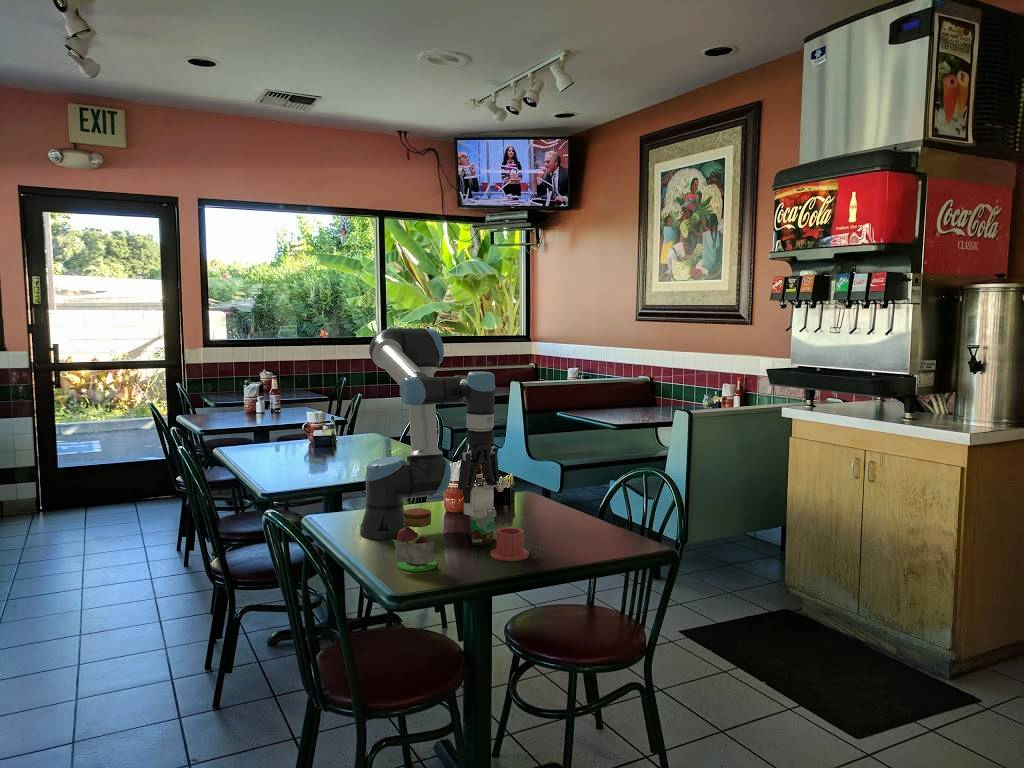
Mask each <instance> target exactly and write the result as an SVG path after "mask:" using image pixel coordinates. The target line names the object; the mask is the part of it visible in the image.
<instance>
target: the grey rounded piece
mask: <svg viewBox="0 0 1024 768" xmlns="http://www.w3.org/2000/svg"><path fill="white" fill-rule="evenodd" d="M494 490H495V489H494ZM494 490H493V489H490V488H485V487H484V486H473V487H472V491H474V514H473V515H472V516H471V515H469V516H470V517H474V518H484V517H486V516H487V510H489V509H492V508H493V507H494V494H495V493H494V492H495V491H494Z"/></svg>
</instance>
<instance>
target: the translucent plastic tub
mask: <svg viewBox="0 0 1024 768" xmlns="http://www.w3.org/2000/svg"><path fill="white" fill-rule="evenodd" d="M431 524H432V511H431V510H430V509H427V508H420V507H418V508H416V507H415V508H414V507H413V508H408V509H406V510H404V525H405V526H409V528H408V527H407V528H402V529H400V530H399V532H398V537H397V538H396V539H391V541H393V543H394V548H395V555H394V556H395V558H394V559H395V561H397V567H398V569H400V570H403V571H407V572H425V571H430V570H432V569H434V568H436V567H437V566H438V564H437V561H436V560H435V557H434V556H435V555H434V550H435V542H434V541H430V540H429V538H428V537H427V536H425V535H420V536H419V533H417V532H416V531H415V530H414V529H412V528H425V527H427V526H430V525H431ZM412 541H414V542H413V543H411V542H412Z"/></svg>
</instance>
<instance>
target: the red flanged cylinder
mask: <svg viewBox="0 0 1024 768" xmlns="http://www.w3.org/2000/svg"><path fill="white" fill-rule="evenodd" d="M524 533H525V532H524V530H523V529H522V528H517V527H502V528H498V529H496V538H495V539H496V543H495V544H496V546H495V547H496V548H493V549H492V550H491V551H490V557H491V558H492V559H494V560H497V561H502V562H518V561H519V562H520V561H524V560H526V559H529V557H530V551H529V550H527V549H525V548H524V540H525V539H524V535H525V534H524Z"/></svg>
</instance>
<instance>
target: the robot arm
mask: <svg viewBox="0 0 1024 768" xmlns="http://www.w3.org/2000/svg"><path fill="white" fill-rule="evenodd" d="M370 341H371V342H370V344H369V348H368V353H369V357H370V359H371V361H372V362H373V363H374V364H375V366H377V367H378V368H381V369H383V370H385V371H386V372H387V373H388V375H389V376H390V377H391V378H392V379H393V380H394V381H395V383H396V384H398V385H399V396H400V398H401V402H402V403H403V404H404V405H406V406H408V416H409V418H408V419H409V432H410V451H409V452H408V453H407V454H406V460H404V458H403V457H401V456H386V457H385V456H384V457H381V458H376V459H374V460H371V461H370V462H369V463H368V464H367V465H366V468H365V477H364V478H365V479H364V480H365V511H364V514H363V518H362V523H361V524H360V526H359V534H360V536H361V537H363V538H366V539H373V540H392V539H393V540H395V539H397V537H398V532H399V530H400V529H402V528H407V527H408V528H410V527H409V526H405V525H404V511H405V508H404V500H405V499H410V498H412V499H413V498H421V497H423V498H424V497H434V496H438V495H442V494H445V492H446V491H447V489H448V487H449V486H450V482H451V478H452V477H451V476H452V469H451V465H450V461H449V459H447V458H445V457H444V453H443V451H441V450H440V448H439V445H438V444H439V441H438V428H437V410H436V409H437V408H436V405H450V404H466V414H465V415H466V417H465V419H466V420H465V427H466V428H467V429H466V430H465V441H466V443H467V445H468V449H467V451H466V452H463V451H462V452H461V453H460V467H459V475H458V484H457V489H458V490H460V491H463V496H462V497H463V515H466V516H470V515H471V516H472V515H473V514H474V491H472V487H474V482H475V479H476V476H477V472H478V469H479V468H480V466H481V469H482V473H483V476H484V480H485V484H483V487H485V488H490V489H493V490H495V486H497V485H498V482H499V481H500V472H499V470H500V469H499V459H498V453H499V447H498V446H491V445H492V444H494V442H495V438H494V437H495V430H494V429H493V428H494V427H495V403H496V402H495V401H496V400H495V397H496V383H495V379H496V376H495V374H494V373H493V372H490V371H469V372H468V373H467V375H464V374H462V375H460V374H459V375H455V376H434V375H435V373H436V372H437V371H438V369H439V365H440V364H441V363H443V360H444V355H445V348H444V343H443V340H442V338H441V336H440V334H439V332H438V331H437V330H435V329H433V328H425V327H421V328H419V327H415V328H414V327H411V328H409V327H408V328H407V327H403V328H402V327H401V328H399V327H398V328H397V327H391V328H386V329H383V330H381V331H379V332H378V333H376V335H375V336H374V337H373V338H372V339H371V340H370ZM492 509H493V508H492ZM471 516H470V517H471Z"/></svg>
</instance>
